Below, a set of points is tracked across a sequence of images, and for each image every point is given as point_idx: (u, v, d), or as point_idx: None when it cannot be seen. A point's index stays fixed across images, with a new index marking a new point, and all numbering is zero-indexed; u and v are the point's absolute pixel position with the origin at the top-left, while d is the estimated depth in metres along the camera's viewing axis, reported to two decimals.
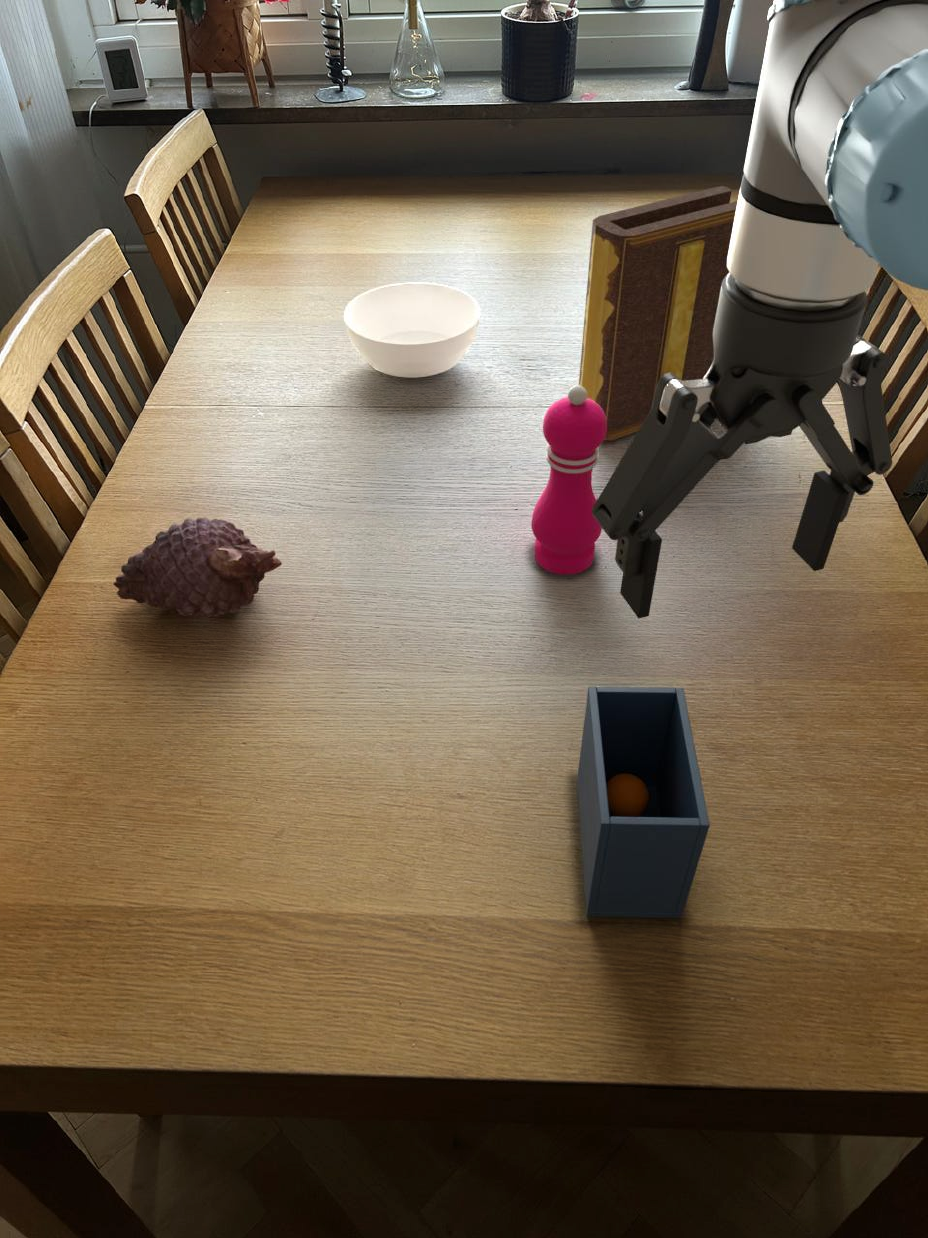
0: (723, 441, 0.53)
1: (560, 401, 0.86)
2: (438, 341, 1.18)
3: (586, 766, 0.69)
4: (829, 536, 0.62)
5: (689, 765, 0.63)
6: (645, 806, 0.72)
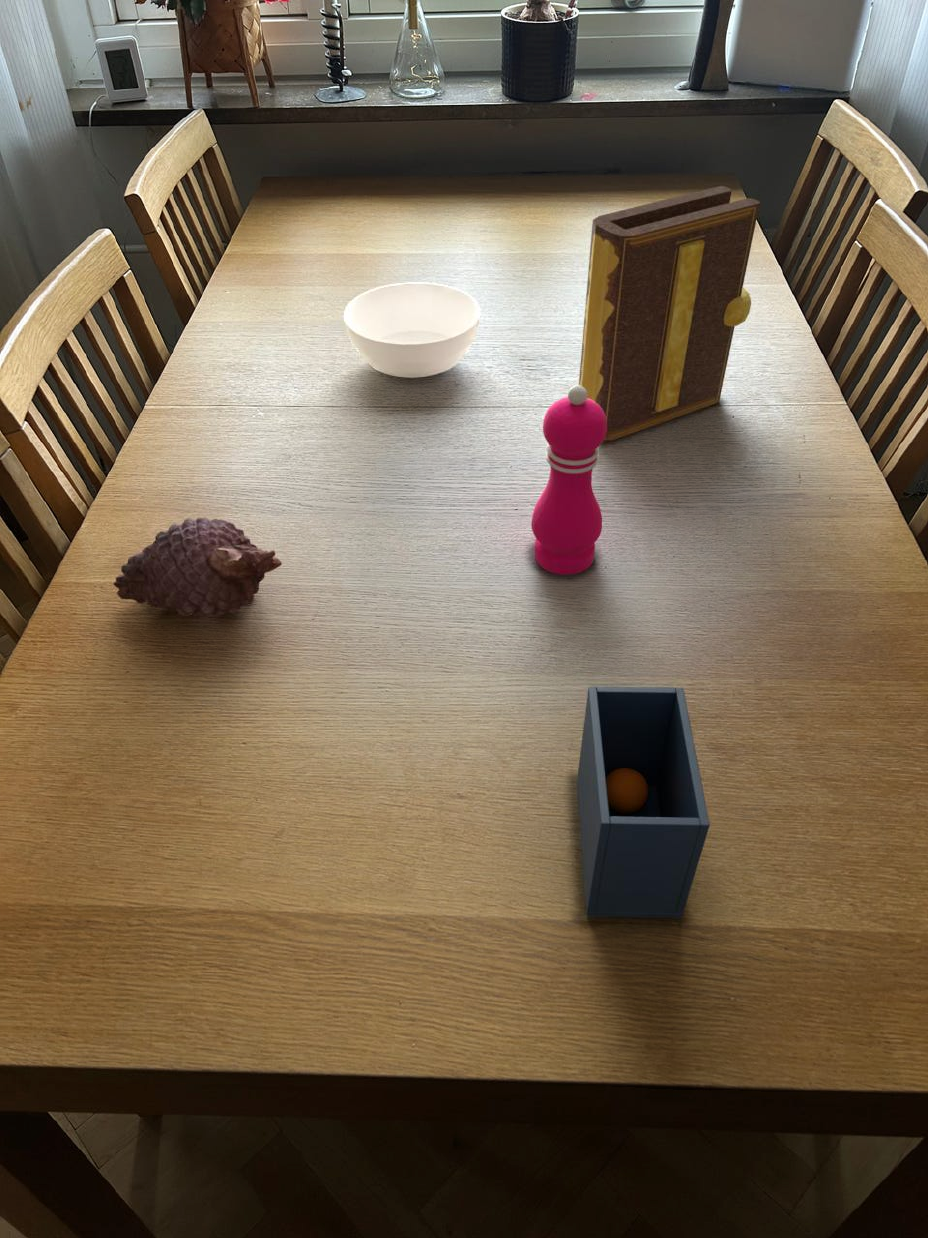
0: None
1: (560, 401, 0.86)
2: (438, 341, 1.18)
3: (586, 766, 0.69)
4: None
5: (689, 765, 0.63)
6: (644, 796, 0.72)
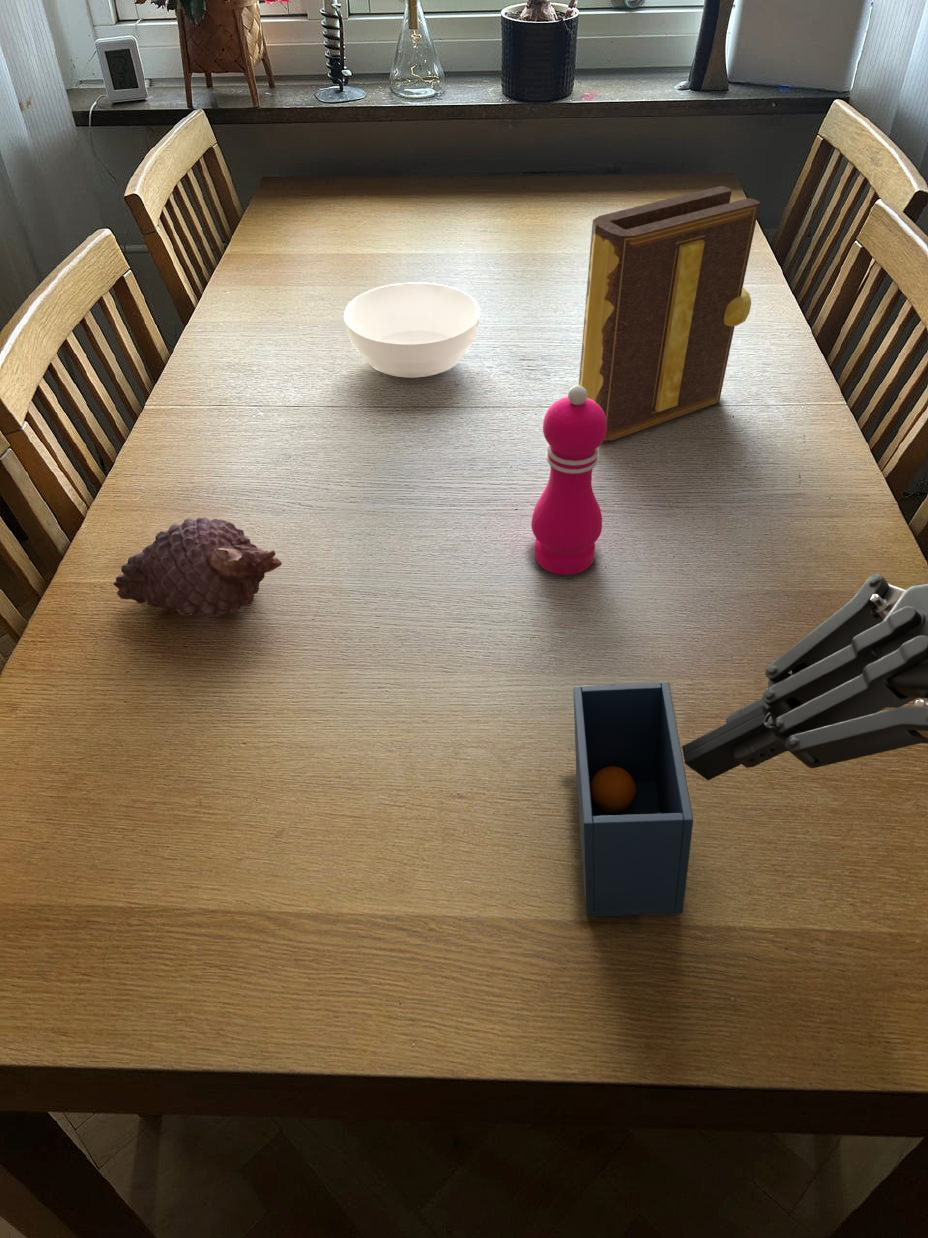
0: None
1: (560, 401, 0.86)
2: (438, 341, 1.18)
3: (577, 766, 0.69)
4: (720, 740, 0.63)
5: (674, 760, 0.63)
6: (626, 790, 0.72)
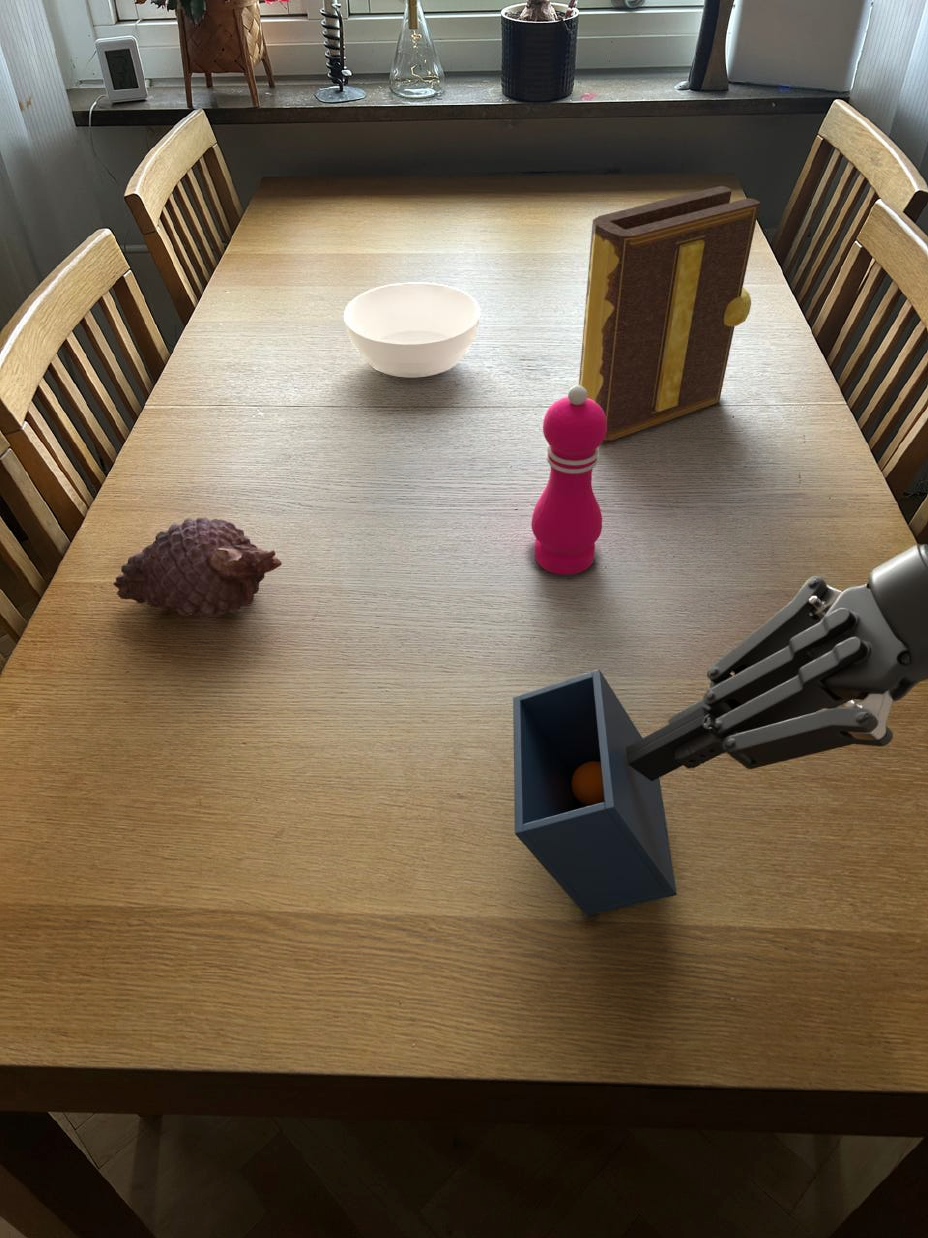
0: None
1: (560, 401, 0.86)
2: (438, 341, 1.18)
3: None
4: (661, 741, 0.63)
5: (600, 749, 0.63)
6: (597, 782, 0.71)
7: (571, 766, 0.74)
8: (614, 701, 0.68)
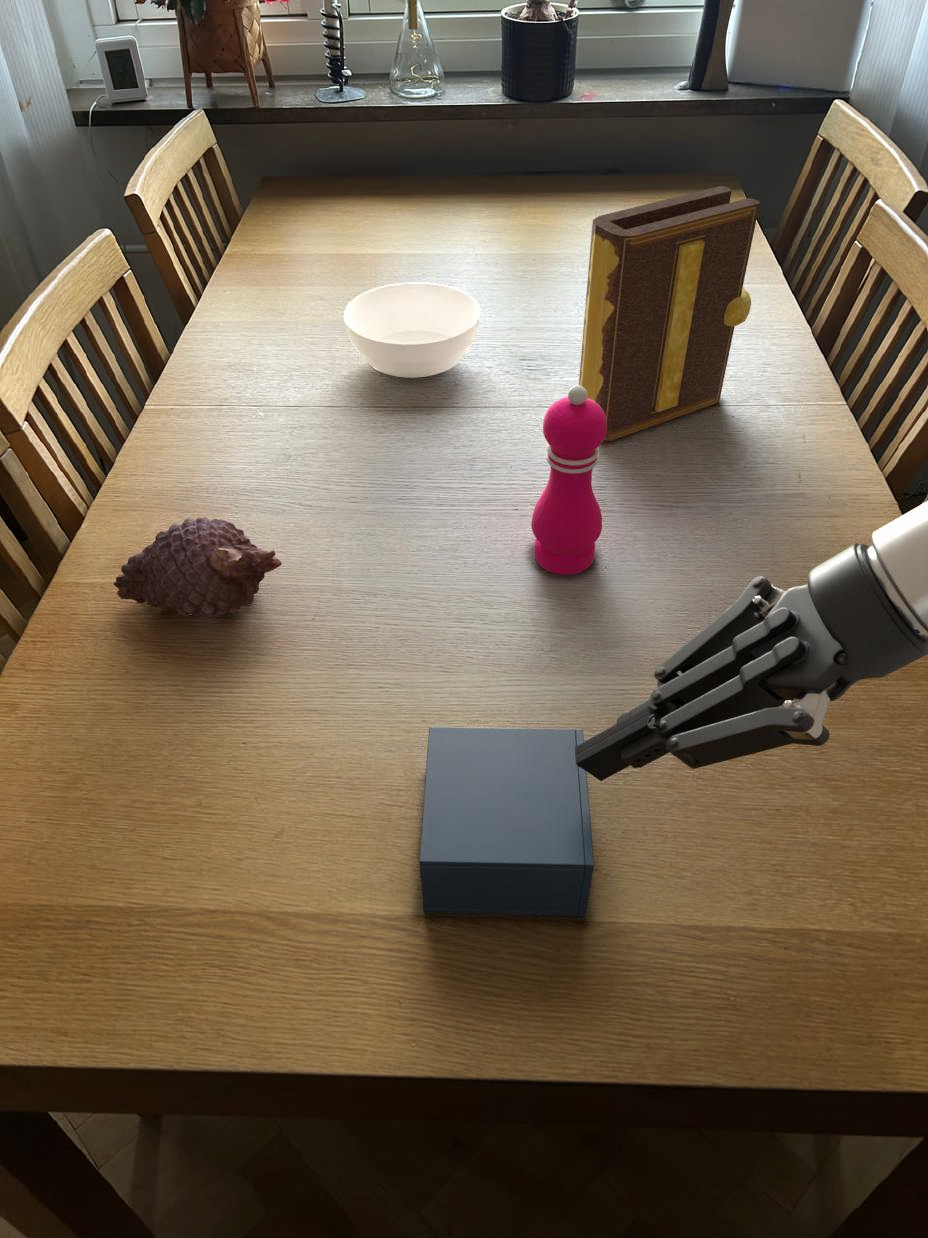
0: None
1: (560, 401, 0.86)
2: (438, 341, 1.18)
3: None
4: (609, 740, 0.63)
5: None
6: None
7: None
8: (463, 737, 0.72)
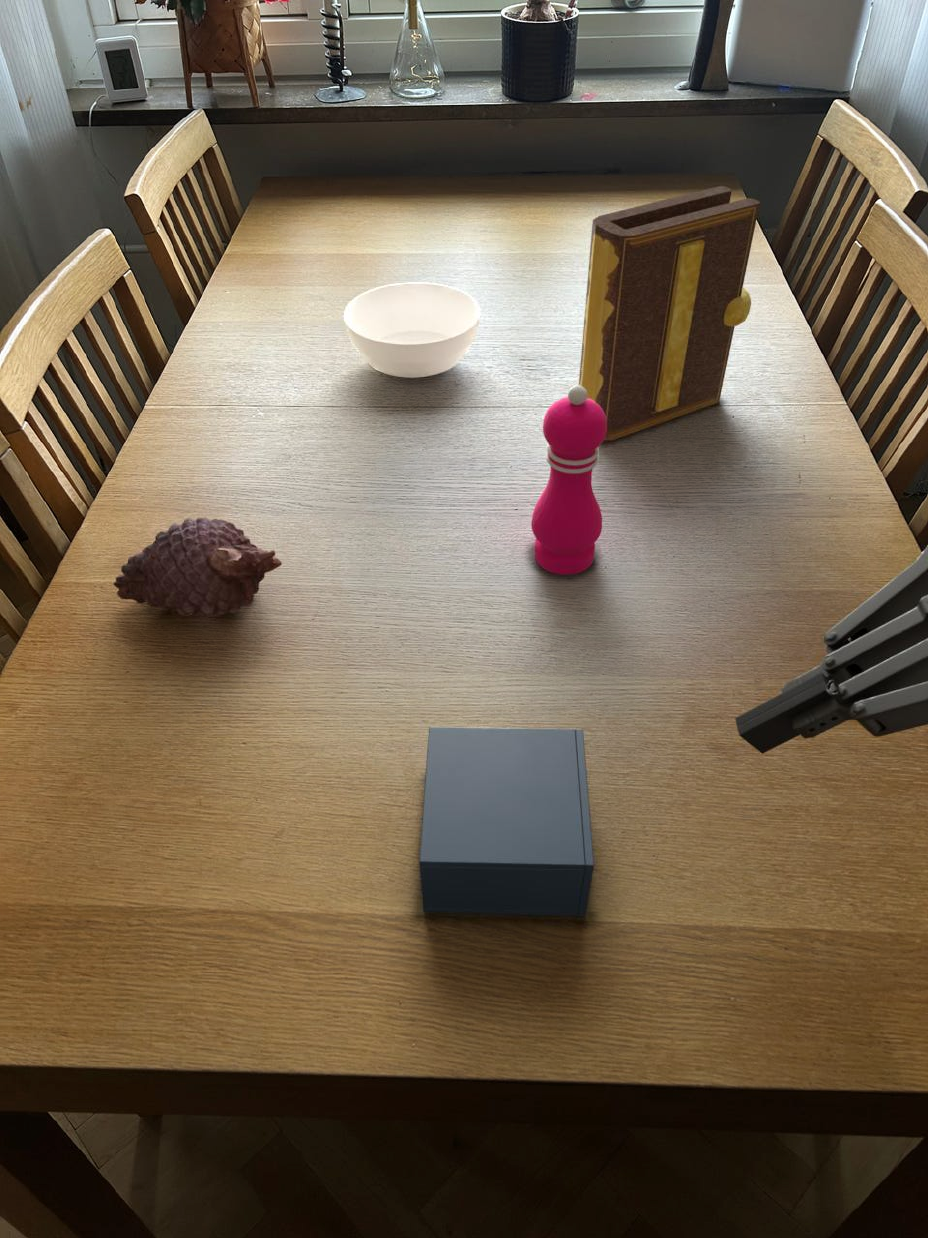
0: None
1: (560, 401, 0.86)
2: (438, 341, 1.18)
3: None
4: (777, 709, 0.60)
5: None
6: None
7: None
8: (463, 737, 0.72)
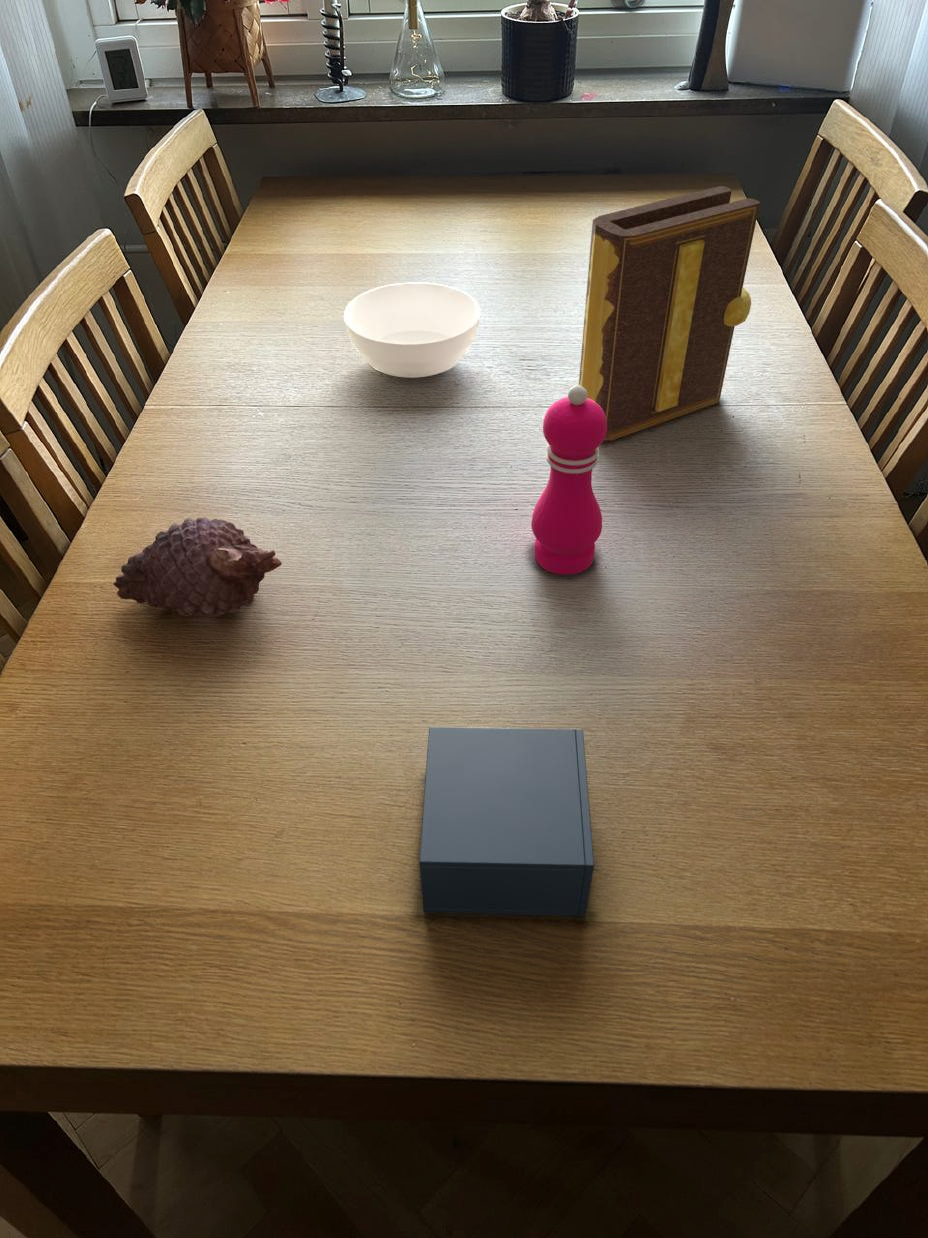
0: None
1: (560, 401, 0.86)
2: (438, 341, 1.18)
3: None
4: None
5: None
6: None
7: None
8: (463, 737, 0.72)
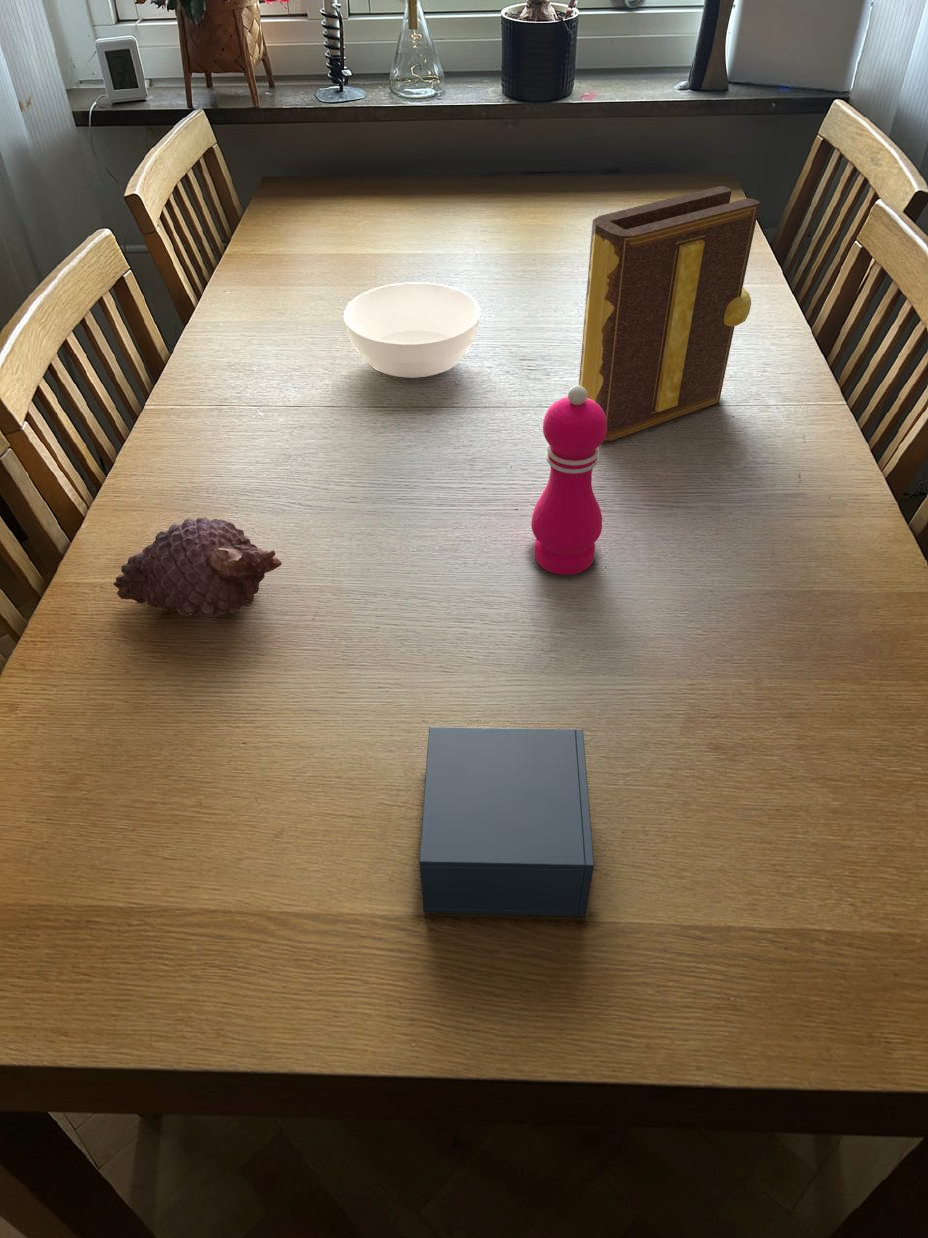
0: None
1: (560, 401, 0.86)
2: (438, 341, 1.18)
3: None
4: None
5: None
6: None
7: None
8: (463, 737, 0.72)
